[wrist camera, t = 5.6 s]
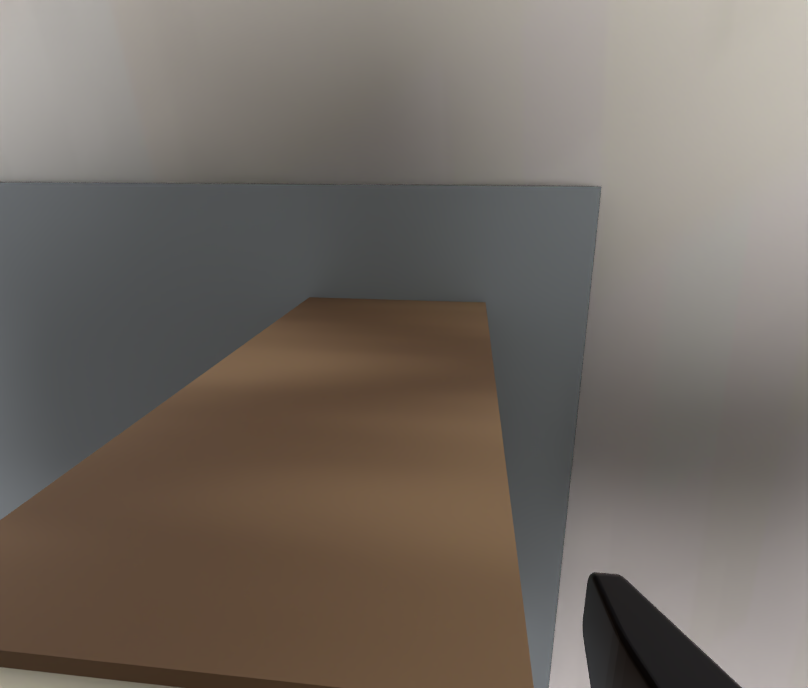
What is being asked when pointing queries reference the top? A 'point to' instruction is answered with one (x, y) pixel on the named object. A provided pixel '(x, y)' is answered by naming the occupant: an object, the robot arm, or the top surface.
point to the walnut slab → (286, 522)
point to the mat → (277, 295)
